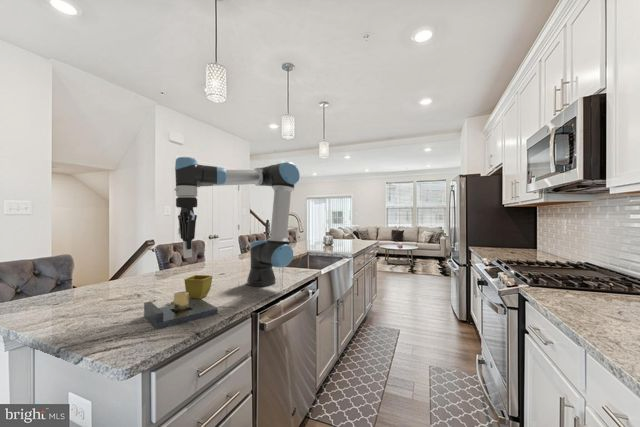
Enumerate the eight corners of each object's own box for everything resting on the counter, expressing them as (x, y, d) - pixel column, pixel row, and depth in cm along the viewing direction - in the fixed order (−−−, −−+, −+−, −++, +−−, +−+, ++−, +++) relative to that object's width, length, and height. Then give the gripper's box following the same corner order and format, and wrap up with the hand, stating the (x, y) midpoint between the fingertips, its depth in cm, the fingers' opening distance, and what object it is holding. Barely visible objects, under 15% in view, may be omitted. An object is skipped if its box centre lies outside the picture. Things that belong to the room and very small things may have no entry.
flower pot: (213, 294, 123) (213, 275, 123) (202, 300, 114) (202, 279, 115) (195, 294, 124) (195, 274, 124) (183, 300, 115) (183, 279, 115)
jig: (200, 303, 110) (200, 291, 110) (217, 313, 99) (217, 300, 99) (144, 316, 96) (144, 302, 96) (156, 329, 85) (156, 313, 85)
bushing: (185, 311, 101) (186, 290, 101) (190, 315, 97) (190, 293, 97) (172, 315, 97) (172, 293, 97) (176, 318, 94) (176, 295, 94)
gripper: (170, 197, 106) (171, 257, 106) (182, 196, 97) (184, 260, 97) (190, 198, 111) (191, 254, 111) (203, 196, 102) (204, 257, 102)
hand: (187, 257), depth 104 cm, fingers closed
